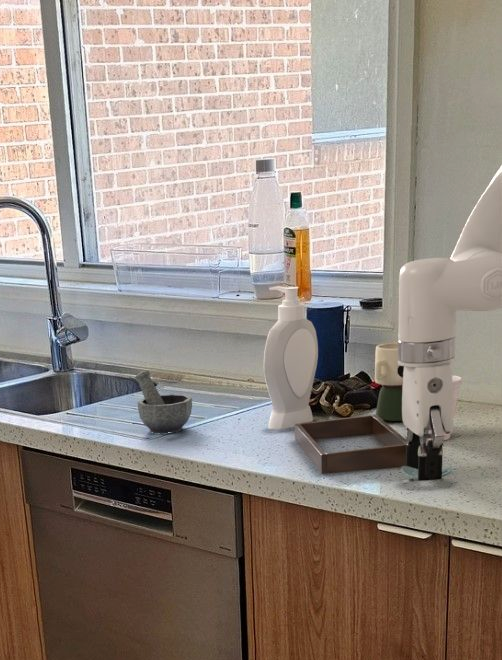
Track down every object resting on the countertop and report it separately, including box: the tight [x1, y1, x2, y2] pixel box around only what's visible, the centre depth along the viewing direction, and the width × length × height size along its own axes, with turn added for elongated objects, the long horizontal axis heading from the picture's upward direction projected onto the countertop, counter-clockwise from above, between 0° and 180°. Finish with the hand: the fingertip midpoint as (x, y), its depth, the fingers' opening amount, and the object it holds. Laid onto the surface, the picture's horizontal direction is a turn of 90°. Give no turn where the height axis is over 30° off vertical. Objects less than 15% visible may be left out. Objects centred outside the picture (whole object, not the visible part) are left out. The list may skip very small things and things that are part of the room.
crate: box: [294, 413, 409, 475], centre depth 198 cm, size 14×23×4 cm, turn 176°
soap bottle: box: [263, 285, 319, 430], centre depth 217 cm, size 13×8×24 cm, turn 121°
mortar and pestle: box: [134, 370, 193, 433], centre depth 225 cm, size 11×9×12 cm
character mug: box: [374, 341, 404, 422], centre depth 213 cm, size 11×7×13 cm, turn 126°
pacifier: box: [401, 440, 456, 483], centre depth 177 cm, size 7×6×6 cm
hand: (423, 475), depth 178 cm, fingers closed on pacifier, 5 cm apart
